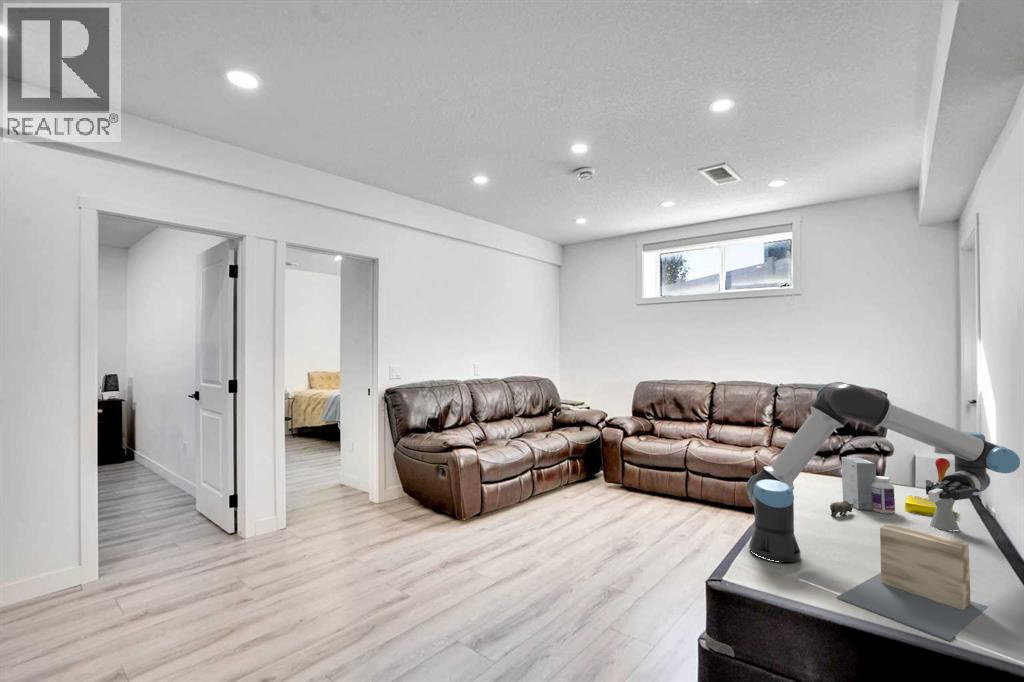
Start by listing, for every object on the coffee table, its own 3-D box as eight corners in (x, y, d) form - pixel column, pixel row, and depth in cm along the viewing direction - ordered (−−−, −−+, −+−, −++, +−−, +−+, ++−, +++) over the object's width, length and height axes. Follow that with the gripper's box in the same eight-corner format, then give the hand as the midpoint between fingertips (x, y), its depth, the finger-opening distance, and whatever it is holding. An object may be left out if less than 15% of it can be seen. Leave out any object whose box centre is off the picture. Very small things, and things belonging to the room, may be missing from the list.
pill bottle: (894, 510, 208) (892, 476, 209) (896, 515, 201) (894, 480, 202) (870, 507, 213) (869, 474, 213) (872, 512, 206) (870, 478, 206)
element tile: (904, 512, 208) (904, 500, 208) (908, 504, 218) (907, 493, 219) (951, 520, 197) (951, 508, 197) (953, 511, 208) (952, 500, 208)
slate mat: (881, 573, 148) (881, 572, 148) (988, 608, 128) (988, 606, 128) (836, 598, 133) (836, 596, 133) (950, 641, 113) (950, 640, 113)
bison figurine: (858, 515, 203) (858, 500, 203) (837, 519, 198) (836, 504, 198) (848, 512, 207) (848, 498, 207) (827, 516, 201) (826, 501, 202)
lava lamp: (958, 533, 181) (955, 439, 182) (927, 527, 188) (924, 436, 189) (962, 528, 187) (959, 437, 188) (931, 522, 194) (929, 434, 195)
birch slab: (890, 577, 145) (889, 523, 145) (970, 603, 130) (968, 543, 130) (881, 582, 141) (880, 527, 142) (962, 610, 126) (960, 547, 127)
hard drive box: (878, 510, 207) (876, 463, 208) (858, 509, 209) (856, 463, 210) (860, 500, 222) (859, 456, 223) (842, 499, 224) (840, 456, 225)
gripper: (988, 502, 147) (961, 516, 135) (934, 492, 158) (904, 504, 146) (988, 477, 147) (960, 489, 135) (933, 469, 158) (903, 479, 146)
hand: (931, 496), depth 140 cm, fingers closed
